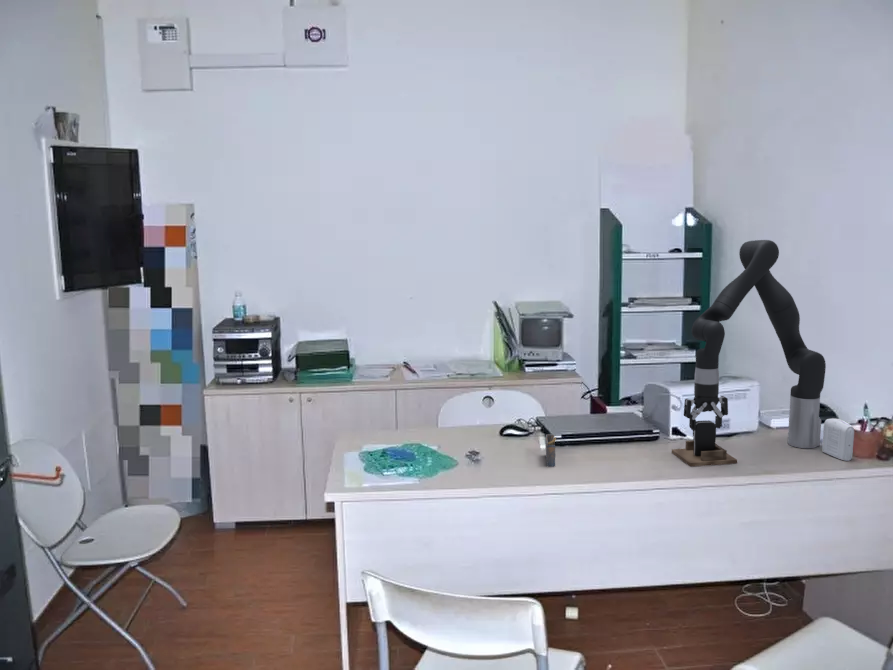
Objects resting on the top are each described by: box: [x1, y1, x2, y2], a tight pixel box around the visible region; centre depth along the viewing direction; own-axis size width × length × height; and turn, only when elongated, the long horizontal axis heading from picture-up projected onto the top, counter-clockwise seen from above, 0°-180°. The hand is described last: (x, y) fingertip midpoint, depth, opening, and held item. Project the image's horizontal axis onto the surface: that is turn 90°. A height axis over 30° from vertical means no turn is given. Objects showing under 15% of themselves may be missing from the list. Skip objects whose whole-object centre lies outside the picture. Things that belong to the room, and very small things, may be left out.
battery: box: [692, 420, 717, 456], centre depth 254 cm, size 7×4×11 cm, turn 90°
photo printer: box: [821, 417, 855, 462], centre depth 253 cm, size 10×4×12 cm, turn 17°
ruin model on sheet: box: [545, 434, 557, 468], centre depth 255 cm, size 11×3×10 cm, turn 174°
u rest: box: [671, 439, 738, 468], centre depth 255 cm, size 16×14×4 cm
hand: (705, 428), depth 253 cm, fingers open, 8 cm apart
